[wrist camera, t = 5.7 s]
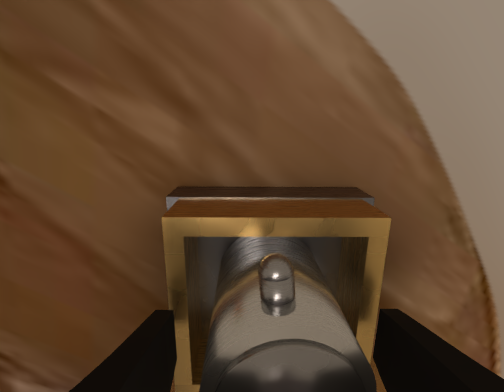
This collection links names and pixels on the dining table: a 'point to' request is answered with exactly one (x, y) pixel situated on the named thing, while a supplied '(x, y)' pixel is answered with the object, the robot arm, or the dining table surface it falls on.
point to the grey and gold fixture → (269, 225)
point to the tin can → (279, 325)
